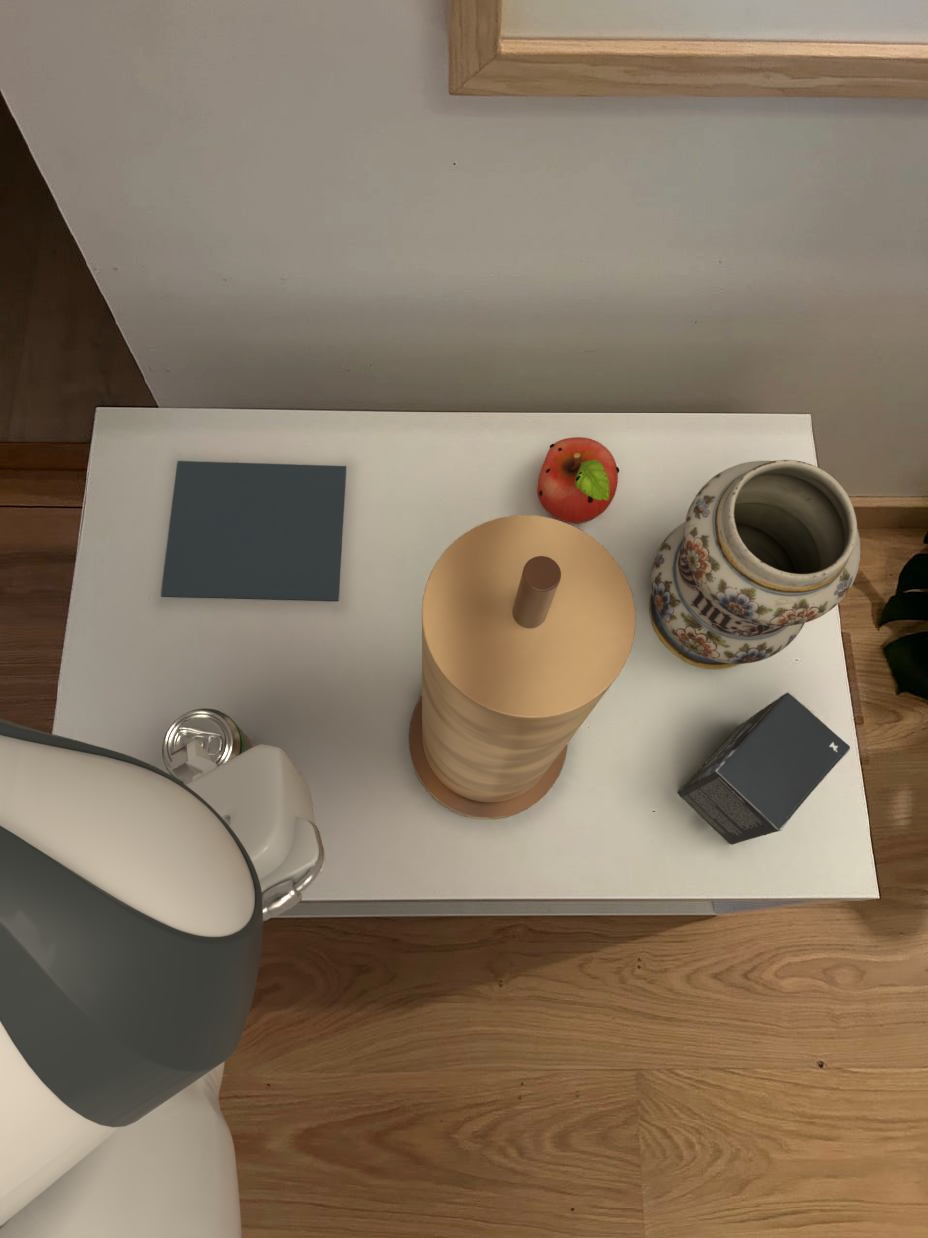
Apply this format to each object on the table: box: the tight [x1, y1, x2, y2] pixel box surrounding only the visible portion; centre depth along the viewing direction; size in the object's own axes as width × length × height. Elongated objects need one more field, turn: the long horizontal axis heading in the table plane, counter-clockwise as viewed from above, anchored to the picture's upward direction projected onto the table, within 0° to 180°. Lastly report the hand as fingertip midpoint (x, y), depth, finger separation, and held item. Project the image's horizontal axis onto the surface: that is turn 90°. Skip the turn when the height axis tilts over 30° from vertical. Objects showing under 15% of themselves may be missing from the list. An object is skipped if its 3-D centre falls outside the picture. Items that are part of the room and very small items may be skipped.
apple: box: [536, 436, 620, 524], centre depth 74 cm, size 8×7×10 cm
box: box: [677, 692, 851, 846], centre depth 67 cm, size 8×6×11 cm
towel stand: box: [408, 514, 637, 820], centre depth 56 cm, size 12×12×35 cm
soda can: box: [161, 707, 256, 783], centre depth 65 cm, size 5×5×12 cm
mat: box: [160, 460, 347, 602], centre depth 77 cm, size 14×12×1 cm
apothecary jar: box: [649, 459, 861, 670], centre depth 68 cm, size 12×12×18 cm
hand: (112, 798), depth 50 cm, fingers open, 8 cm apart
